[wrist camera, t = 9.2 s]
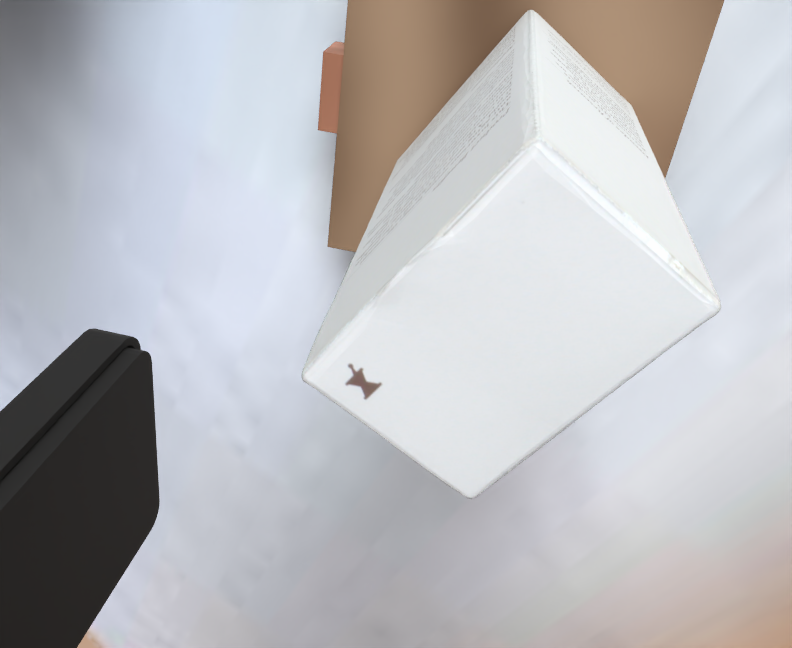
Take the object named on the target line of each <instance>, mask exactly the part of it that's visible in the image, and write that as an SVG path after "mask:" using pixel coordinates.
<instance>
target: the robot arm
mask: <svg viewBox="0 0 792 648" xmlns="http://www.w3.org/2000/svg"><path fill="white" fill-rule="evenodd" d="M158 509H159V484H158V466H157V448H156V430H155V412H154V394H153V375H152V361H151V356H150V354H149V353H148V352H146V351H142V350H141V348H140V344H139V342H138V340H137V339H136V338H134V337H131V336H126V335H122V334H117V333H112V332H108V331H103V330H98V329H89V330H87V331H86V332H84V333H83V334H82V335H81V336H80V337H79V338H78V339H77V340H76V341H75V342H73V343H72V344H71V345H70V346H69V347H68V348H67V349H66V350H65V351H64V352H63V353H62V354H61V355H60V356H59V357H58V358H57V359H55V360H54V361H53V362H52V363H51V364H50V365H49V366H48V367H47V368H46V369H45V370H44V371H43V372H42V373H41V374H40V375H39V376H38V377H36V378H35V379H34V380H33V381H32V382H31V383H30V384H29V385H28V386H27V387H26V388H25V389H24V390H23V391H22V392H21V393H20V394H18V395H17V396H16V397H15V398H14V399H13V400H12V401H11V402H10V403H9V404H8V405H7V406H6V407H5V408H4V409H3V410H2V411H0V648H77V647H78V645H79V643H80V642H81V640H82V639H83V637H84V635H85V634H86V632H87V631H88V629H89V628H90V626H91V624H92V623H93V621H94V620H95V618H96V616H97V615H98V613H99V612H100V610H101V609H102V607H103V605H104V604H105V602H106V601H107V599H108V597H109V596H110V594H111V593H112V591H113V589H114V588H115V586H116V585H117V583H118V582H119V580H120V578H121V577H122V575H123V574H124V572H125V570H126V569H127V567H128V566H129V564H130V563H131V561H132V559H133V558H134V556H135V555H136V553H137V551H138V550H139V548H140V547H141V545H142V544H143V542H144V540H145V539H146V537H147V536H148V534H149V532H150V531H151V529H152V527H153V525H154V523H155V520H156V517H157V514H158Z"/></svg>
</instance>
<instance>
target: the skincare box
mask: <svg viewBox="0 0 792 648" xmlns="http://www.w3.org/2000/svg"><path fill="white" fill-rule="evenodd" d="M720 309H721V304H720V300H719V297H718V295H717V293H716V291H715V289H714V286H713V284H712V281H711V279H710V277H709V275H708V273H707V271H706V268H705V266H704V264H703V262H702V260H701V258H700V255H699V253H698V251H697V249H696V247H695V244H694V242H693V240H692V238H691V236H690V233H689V231H688V228H687V226H686V224H685V222H684V220H683V218H682V215H681V213H680V211H679V209H678V207H677V205H676V203H675V201H674V198H673V196H672V194H671V192H670V190H669V188H668V185H667V183H666V181H665V178H664V176H663V174H662V171H661V169H660V167H659V165H658V163H657V160H656V158H655V156H654V154H653V152H652V149H651V147H650V145H649V143H648V141H647V138H646V137H645V134H644V132H643V130H642V127H641V125H640V123H639V121H638V118H637V116H636V114H635V111H634V109H633V107H632V105H631V104H630V103H629V102H627V101H626V99H624V98H623V97H622V96H621V95H620V94H619V93H618V92H617V91H616V90H615V89H614V88H613V87H612V86H611V85H610V84H609V83H608V82H607V81H606V80H605V79H604V78H603V77H602V76H601V75H600V74H599V73H598V72H597V71H596V70H595V69H594V68H593V67H592V66H591V65H590V64H589V63H588V62H587V61H586V60H585V59H584V58H583V57H582V56H581V55H580V54H579V53H578V52H577V51H576V50H575V49H574V48H573V47H572V46H571V45H570V44H569V43H568V42H567V41H566V40H565V39H564V38H563V37H562V36H560V35H559V34H558V33H557V32H556V31H555V30H554V29H553V28H552V27H551V26H550V25H549V24H548V23H547V22H546V21H545V20H544V19H543V18H542V17H541V16H540V15H539V14H538V13H536V12H535V11H534V10H528V11H527V12H526V13H525V14H524V15H523V16H522V17H521V18H520V19H519V21H518V22H517V23H516V24H515V25H514V26H513V27H512V29H511V30H510V31H509V32H508V33H507V34H506V36H505V37H504V38H503V39H502V40H501V41H500V42H499V44H498V45H497V46H496V47H495V48H494V49H493V50H492V52H491V53H490V54H489V55H488V56H487V57H486V58H485V60H484V61H483V62H482V63H481V64H480V65H479V67H478V68H477V69H476V70H475V71H474V72H473V74H472V75H471V76H470V77H469V78H468V79H467V80H466V82H465V83H464V84H463V85H462V86H461V87H460V88H459V90H458V91H457V92H456V93H455V94H454V95H453V96H452V98H451V99H450V100H449V101H448V102H447V103H446V105H445V106H444V107H443V108H442V109H441V110H440V112H439V113H438V114H437V115H436V116H435V117H434V119H433V120H432V121H431V122H430V123H429V124H428V126H427V127H426V128H425V129H424V130H423V131H422V132H421V134H420V135H419V136H418V137H417V138H416V139H415V141H414V142H413V143H412V144H411V145H410V146H409V148H408V149H407V150H406V151H405V152H404V153H403V154H402V156H401V157H400V158H399V159H398V160H397V162H396V164H395V167H394V169H393V171H392V173H391V175H390V177H389V180H388V182H387V184H386V186H385V188H384V190H383V193H382V195H381V197H380V199H379V201H378V204H377V206H376V208H375V211H374V213H373V215H372V218H371V220H370V222H369V224H368V226H367V229H366V231H365V233H364V235H363V237H362V239H361V242H360V244H359V246H358V248H357V251H356V253H355V255H354V257H353V259H352V261H351V263H350V265H349V268H348V270H347V272H346V274H345V276H344V279H343V281H342V283H341V286H340V288H339V290H338V292H337V294H336V297H335V299H334V301H333V303H332V305H331V307H330V309H329V311H328V313H327V315H326V317H325V319H324V321H323V323H322V325H321V328H320V330H319V333H318V335H317V337H316V339H315V341H314V344H313V346H312V349H311V351H310V354H309V356H308V359H307V361H306V363H305V366H304V368H303V371H302V379H303V381H304V382H306V383H307V384H309V385H310V386H312V387H313V388H315V389H316V390H317V391H319V392H320V393H322V394H323V395H324V396H326V397H327V398H329V399H330V400H332V401H333V402H334V403H336V404H337V405H339V406H340V407H341V408H343V409H344V410H346V411H347V412H348V413H350V414H351V415H352V416H354V417H355V418H357V419H358V420H359V421H361V422H362V423H364V424H365V425H366V426H368V427H369V428H370V429H372V430H373V431H375V432H376V433H377V434H379V435H380V436H381V437H383V438H384V439H385V440H387V441H388V442H389V443H391V444H392V445H393V446H395V447H396V448H397V449H399V450H400V451H402V452H403V453H404V454H406V455H407V456H408V457H410V458H411V459H413V460H414V461H415V462H417V463H418V464H419V465H421V466H422V467H423V468H425V469H426V470H427V471H429V472H430V473H431V474H433V475H434V476H436V477H437V478H439V479H440V480H441V481H443V482H444V483H446V484H447V485H449V486H450V487H452V488H453V489H455V490H456V491H458V492H459V493H461V494H462V495H464V496H465V497H467V498H469V499H472V498H476V497H477V496H478V495H479V494H481V493H482V492H483V491H484V490H486V489H487V488H488V487H490V486H491V485H492V484H494V483H495V482H496V481H498V480H499V479H500V478H502V477H503V476H504V475H506V474H507V473H508V472H509V471H511V470H512V469H513V468H515V467H516V466H517V465H519V464H520V463H521V462H523V461H524V460H525V459H527V458H528V457H529V456H531V455H532V454H533V453H535V452H536V451H537V450H539V449H540V448H541V447H542V446H544V445H545V444H546V443H548V442H549V441H550V440H551V439H553V438H554V437H555V436H557V435H558V434H559V433H561V432H562V431H563V430H564V429H566V428H567V427H568V426H570V425H571V424H572V423H573V422H575V421H576V420H577V419H579V418H580V417H581V416H582V415H584V414H585V413H586V412H588V411H589V410H590V409H591V408H593V407H594V406H595V405H597V404H598V403H599V402H600V401H602V400H603V399H604V398H605V397H607V396H608V395H609V394H611V393H612V392H613V391H615V390H616V389H617V388H619V387H620V386H621V385H623V384H624V383H625V382H626V381H628V380H629V379H630V378H632V377H633V376H634V375H636V374H637V373H638V372H640V371H641V370H642V369H644V368H645V367H646V366H647V365H649V364H650V363H651V362H653V361H654V360H655V359H656V358H658V357H659V356H660V355H662V354H663V353H664V352H666V351H667V350H668V349H669V348H671V347H672V346H674V345H675V344H676V343H678V342H679V341H680V340H682V339H683V338H684V337H686V336H687V335H688V334H690V333H691V332H692V331H694V330H695V329H696V328H698V327H699V326H700V325H702V324H703V323H704V322H706V321H707V320H709V319H710V318H712V317H713V316H715V315H716V314H717V313H718V312H719V311H720Z"/></svg>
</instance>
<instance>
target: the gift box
mask: <svg viewBox="0 0 792 648" xmlns="http://www.w3.org/2000/svg"><path fill="white" fill-rule="evenodd" d="M723 3H724V0H348V7H347V19H346V31H345V43H342V42H334V43H333V44H332V45H331V46H330V47H328V48H327V49H326V50H325V51H324V52H323V65H322V79H321V94H320V108H319V123H318V130H320V131H326V132H332V133H337V140H336V152H335V164H334V176H333V188H332V200H331V212H330V224H329V236H328V247H332V248H337V249H342V250H348V251H353V252H356V251H357V248H358V246H359V244H360V242H361V239H362V237H363V235H364V233H365V231H366V229H367V226H368V224H369V222H370V220H371V218H372V215H373V213H374V211H375V208H376V206H377V204H378V201H379V199H380V197H381V195H382V193H383V190H384V188H385V186H386V184H387V182H388V180H389V177H390V175H391V173H392V171H393V169H394V167H395V164H396V162H397V160H398V159H399V158H400V157H401V156H402V154H403V153H404V152H405V151H406V150H407V149H408V148H409V146H410V145H411V144H412V143H413V142H414V141H415V139H416V138H417V137H418V136H419V135H420V134H421V132H422V131H423V130H424V129H425V128H426V127H427V126H428V124H429V123H430V122H431V121H432V120H433V119H434V117H435V116H436V115H437V114H438V113H439V112H440V110H441V109H442V108H443V107H444V106H445V105H446V103H447V102H448V101H449V100H450V99H451V98H452V96H453V95H454V94H455V93H456V92H457V91H458V90H459V88H460V87H461V86H462V85H463V84H464V83H465V82H466V80H467V79H468V78H469V77H470V76H471V75H472V74H473V72H474V71H475V70H476V69H477V68H478V67H479V65H480V64H481V63H482V62H483V61H484V60H485V58H486V57H487V56H488V55H489V54H490V53H491V52H492V50H493V49H494V48H495V47H496V46H497V45H498V44H499V42H500V41H501V40H502V39H503V38H504V37H505V36H506V34H507V33H508V32H509V31H510V30H511V29H512V27H513V26H514V25H515V24H516V23H517V22H518V21H519V19H520V18H521V17H522V16H523V15H524V14H525V13H526V12H527V11H528V10H534V11H535V12H536V13H538V14H539V15H540V16H541V17H542V18H543V19H544V20H545V21H546V22H547V23H548V24H549V25H550V26H551V27H552V28H553V29H554V30H555V31H556V32H557V33H558V34H559V35H560V36H562V37H563V38H564V39H565V40H566V41H567V42H568V43H569V44H570V45H571V46H572V47H573V48H574V49H575V50H576V51H577V52H578V53H579V54H580V55H581V56H582V57H583V58H584V59H585V60H586V61H587V62H588V63H589V64H590V65H591V66H592V67H593V68H594V69H595V70H596V71H597V72H598V73H599V74H600V75H601V76H602V77H603V78H604V79H605V80H606V81H607V82H608V83H609V84H610V85H611V86H612V87H613V88H614V89H615V90H616V91H617V92H618V93H619V94H620V95H621V96H622V97H623V98H624V99H626V101H627V102H629V103H630V104H631V105H632V107H633V109H634V111H635V114H636V116H637V118H638V121H639V123H640V125H641V127H642V130H643V132H644V134H645V137H646V138H647V141H648V143H649V145H650V147H651V149H652V152H653V154H654V156H655V158H656V160H657V163H658V165H659V167H660V169H661V171H662V174H663V176H664V178H665V177H666V174H667V171H668V168H669V165H670V162H671V159H672V156H673V153H674V150H675V147H676V144H677V141H678V138H679V135H680V132H681V129H682V126H683V123H684V120H685V117H686V114H687V111H688V108H689V105H690V102H691V99H692V96H693V93H694V90H695V87H696V84H697V81H698V78H699V75H700V72H701V69H702V66H703V63H704V60H705V57H706V54H707V51H708V48H709V45H710V42H711V39H712V36H713V33H714V30H715V27H716V24H717V21H718V18H719V15H720V12H721V9H722V6H723Z"/></svg>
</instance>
